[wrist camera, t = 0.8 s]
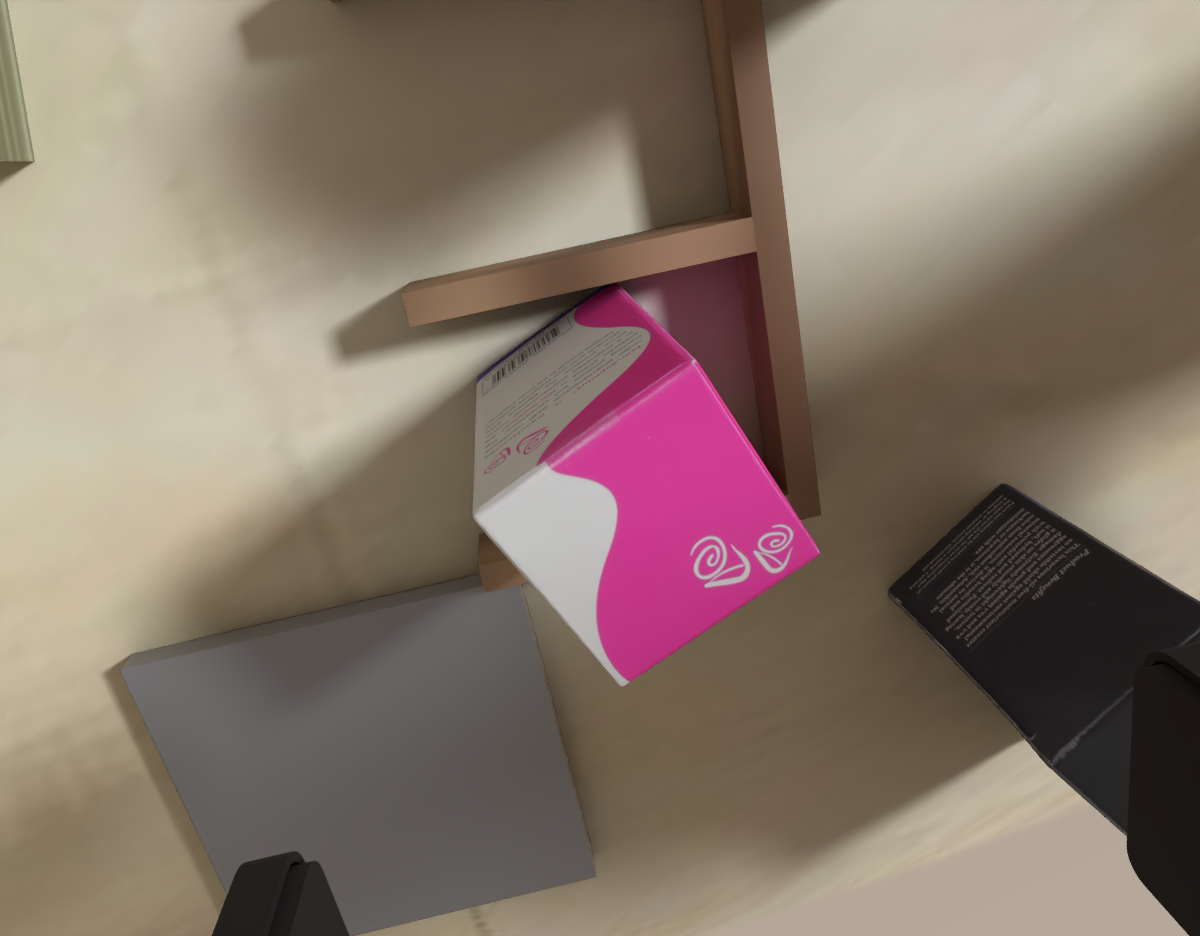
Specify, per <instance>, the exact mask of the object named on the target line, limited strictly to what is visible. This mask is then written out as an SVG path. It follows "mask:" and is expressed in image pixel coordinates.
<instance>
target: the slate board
mask: <svg viewBox="0 0 1200 936" xmlns="http://www.w3.org/2000/svg"><path fill="white" fill-rule="evenodd" d="M120 672H121V674H122V676H123V678H124V680H125V682H126V684H127V686H128V689H129V691H130V693H131V695H132V697H133V699H134V701H135V703H136V705H137V707H138V710H139V712H140V714H141V716H142V718H143V720H144V722H145V724H146V726H147V728H148V731H149V733H150V735H151V737H152V739H153V741H154V743H155V745H156V747H157V749H158V752H159V754H160V756H161V758H162V760H163V762H164V764H165V766H166V768H167V771H168V773H169V775H170V777H171V779H172V781H173V783H174V785H175V787H176V789H177V792H178V794H179V796H180V798H181V800H182V802H183V804H184V806H185V808H186V810H187V813H188V815H189V817H190V819H191V821H192V823H193V825H194V827H195V829H196V831H197V834H198V836H199V838H200V840H201V842H202V844H203V846H204V848H205V850H206V852H207V855H208V857H209V859H210V861H211V863H212V865H213V867H214V869H215V871H216V873H217V876H218V878H219V880H220V882H221V884H222V886H223V888H224V890H225V892H226V894H228V892H229V889H230V886H231V884H232V881H233V878H234V876H235V874H236V872H237V870H238V868H239V866H241V865H242V864H243V863H244V862H248V861H253V860H257V859H261V858H266V857H270V856H274V855H279V854H283V853H287V852H292V851H297V852H299V853H300V854H301V855H302V857H303V859H304V860H305V862H311V861H317V862H318V863H320V865H321V867H322V869H323V871H324V874H325V876H326V879H327V881H328V884H329V886H330V889H331V891H332V893H333V896H334V898H335V901H336V903H337V906H338V908H339V911H340V913H341V916H342V918H343V921H344V923H345V926H346V928H347V931H348V933H349V936H355V935H359V934H363V933H368V932H372V931H376V930H380V929H384V928H388V927H392V926H396V925H400V924H404V923H409V922H413V921H417V920H421V919H425V918H429V917H433V916H437V915H441V914H445V913H450V912H454V911H458V910H462V909H466V908H470V907H474V906H478V905H482V904H486V903H491V902H495V901H499V900H503V899H507V898H511V897H515V896H519V895H523V894H528V893H532V892H536V891H540V890H544V889H548V888H552V887H556V886H560V885H564V884H569V883H573V882H577V881H581V880H585V879H589V878H593V877H596V869H595V862H594V856H593V852H592V849H591V845H590V841H589V837H588V833H587V830H586V826H585V822H584V818H583V814H582V811H581V807H580V803H579V799H578V795H577V792H576V788H575V784H574V780H573V776H572V773H571V769H570V765H569V761H568V758H567V754H566V750H565V746H564V742H563V739H562V735H561V731H560V727H559V723H558V720H557V716H556V712H555V708H554V704H553V701H552V697H551V693H550V689H549V686H548V682H547V678H546V674H545V670H544V667H543V663H542V659H541V655H540V651H539V648H538V644H537V640H536V636H535V632H534V629H533V625H532V621H531V617H530V613H529V610H528V606H527V602H526V598H525V595H524V591H523V587H522V584H520V585H516V586H511V587H507V588H503V589H498V590H494V591H490V592H485V591H484V587H483V584H482V580H481V577H480V574H478V575H473V576H469V577H465V578H460V579H456V580H452V581H447V582H443V583H439V584H434V585H430V586H426V587H421V588H417V589H413V590H408V591H404V592H400V593H395V594H391V595H387V596H382V597H378V598H374V599H369V600H365V601H361V602H356V603H352V604H348V605H343V606H339V607H335V608H330V609H326V610H322V611H317V612H313V613H309V614H304V615H300V616H296V617H291V618H287V619H283V620H278V621H274V622H270V623H265V624H261V625H257V626H252V627H248V628H244V629H239V630H235V631H231V632H226V633H222V634H218V635H213V636H209V637H205V638H200V639H196V640H192V641H187V642H183V643H179V644H174V645H170V646H166V647H161V648H157V649H152V650H148V651H144V652H139V653H135V654H131V656H130V657H129V658H128V660H127V661H126V662H125V664H124V665H123V666H122V668H121V669H120Z"/></svg>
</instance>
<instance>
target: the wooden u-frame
mask: <svg viewBox="0 0 1200 936" xmlns="http://www.w3.org/2000/svg"><path fill="white" fill-rule="evenodd" d="M330 1H331V2H337V1H342V0H330ZM701 2H702V9H703V16H704V24H705V31H706V38H707V45H708V52H709V60H710V67H711V74H712V81H713V88H714V96H715V103H716V110H717V117H718V124H719V132H720V139H721V146H722V153H723V160H724V167H725V175H726V182H727V189H728V196H729V203H730V211H731V213H726V214H722V215H717V216H712V217H708V218H703V219H699V220H694V221H689V222H685V223H680V224H676V225H671V226H667V227H662V228H657V229H653V230H648V231H644V232H639V233H634V234H630V235H625V236H621V237H616V238H612V239H607V240H602V241H598V242H593V243H589V244H584V245H579V246H575V247H570V248H566V249H561V250H557V251H552V252H547V253H543V254H538V255H534V256H529V257H525V258H520V259H515V260H511V261H506V262H502V263H497V264H492V265H488V266H483V267H479V268H474V269H470V270H465V271H460V272H456V273H451V274H447V275H442V276H437V277H433V278H428V279H424V280H419V281H415V282H410V283H409V284H408V285H407V286H406V288H405V289H404V290H403V291H402V293H401V297H402V301H403V304H404V308H405V311H406V315H407V318H408V322H409V325H410V327H415V326H419V325H424V324H428V323H433V322H438V321H442V320H447V319H451V318H456V317H460V316H465V315H469V314H474V313H478V312H483V311H488V310H492V309H497V308H501V307H506V306H510V305H515V304H519V303H524V302H528V301H533V300H538V299H542V298H547V297H551V296H556V295H560V294H565V293H569V292H574V291H578V290H583V289H587V288H592V287H597V286H601V285H606V284H610V283H615V282H619V281H624V280H628V279H633V278H637V277H642V276H647V275H651V274H656V273H660V272H665V271H669V270H674V269H678V268H683V267H687V266H692V265H697V264H701V263H706V262H710V261H715V260H719V259H724V258H728V257H733V256H737V261H738V268H739V275H740V283H741V290H742V297H743V304H744V311H745V319H746V326H747V333H748V340H749V347H750V355H751V362H752V369H753V376H754V383H755V391H756V398H757V405H758V412H759V419H760V427H761V434H762V441H763V448H764V455H765V463H766V468H767V470H768V471H769V473H770V474H771V476H772V478H773V479H774V481H775V482H776V484H777V485H778V487H779V488H780V490H781V491H782V493H783V495H784V496H785V498H786V499H787V501H788V502H789V504H790V505H791V507H792V508H793V510H794V512H795V513H796V515H797V516H798V518H799V519H800V520H801V519H805V518H810V517H814V516H818V515H821V512H820V503H819V494H818V486H817V477H816V469H815V460H814V452H813V443H812V434H811V426H810V417H809V409H808V400H807V392H806V383H805V374H804V366H803V357H802V349H801V340H800V331H799V323H798V314H797V306H796V297H795V289H794V280H793V271H792V263H791V254H790V246H789V237H788V229H787V220H786V211H785V203H784V194H783V186H782V177H781V169H780V160H779V151H778V143H777V134H776V126H775V117H774V109H773V100H772V91H771V83H770V74H769V66H768V57H767V49H766V40H765V31H764V23H763V14H762V6H761V0H701ZM478 570H479V573H480V577H481V580H482V584H483V587H484V591H485V592H490V591H494V590H498V589H503V588H507V587H511V586H516V585H520V584H524V583H529V582H528V581H527V580H526V578H525V577H524V576H523V575H522V574H521V573H520V572H519V571H518V569H517V568H516V567H515V566H514V565H513V564H512V563H511V562H510V560H509V559H508V558H507V557H506V556H505V555H504V554H503V553H502V551H501V550H500V549H499V548H498V547H497V546H496V545H495V544H494V542H493V541H492V540H491V539H490V538H489V537H488V536H487V534H486V533H485V534H481V535H479V550H478Z"/></svg>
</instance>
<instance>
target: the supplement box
mask: <svg viewBox="0 0 1200 936" xmlns="http://www.w3.org/2000/svg"><path fill="white" fill-rule="evenodd" d="M476 382H477V387H476V425H475V458H474V488H473V514H472V515H473V519H474V520H475V522H476V523H477V524H478V525H479V526H480V527H481V528H482V530H483V531H484V532H485V533H486V534H487V536H488V537H489V538H490V539H491V540H492V541H493V542H494V544H495V545H496V546H497V547H498V548H499V549H500V550H501V551H502V553H503V554H504V555H505V556H506V557H507V558H508V559H509V560H510V562H511V563H512V564H513V565H514V566H515V567H516V568H517V569H518V571H519V572H520V573H521V574H522V575H523V576H524V577H525V578H526V580H527V581H528V582H529V583H530V584H531V585H532V586H533V587H534V589H535V590H536V591H537V592H538V593H539V594H540V595H541V596H542V598H543V599H544V600H545V601H546V602H547V603H548V604H549V606H550V607H551V608H552V609H553V610H554V611H555V612H556V613H557V615H558V616H559V617H560V618H561V619H562V620H563V621H564V622H565V624H566V625H567V626H568V627H569V628H570V629H571V630H572V631H573V632H574V633H575V635H576V636H577V637H578V638H579V639H580V640H581V641H582V642H583V643H584V645H585V646H586V647H587V648H588V649H589V651H590V652H591V653H592V654H593V655H594V656H595V658H596V659H597V660H598V661H599V662H600V663H601V665H602V666H603V667H604V668H605V669H606V671H607V672H608V673H609V674H610V675H611V676H612V677H613V679H614V680H615V681H616V682H617V684H618V685H619V686H625V685H626V684H628V683H629V682H630V681H632V680H633V679H635V678H636V677H638V676H640V675H641V674H643V673H644V672H646V671H647V670H649V669H650V668H651V667H653V666H654V665H655V664H657V663H659V662H660V661H662V660H663V659H665V658H666V657H668V656H669V655H671V654H672V653H674V652H675V651H677V650H678V649H680V648H681V647H683V646H684V645H686V644H687V643H689V642H690V641H692V640H693V639H695V638H696V637H698V636H699V635H701V634H702V633H704V632H705V631H706V630H708V629H709V628H711V627H712V626H714V625H715V624H717V623H718V622H720V621H721V620H723V619H724V618H726V617H727V616H729V615H730V614H732V613H733V612H734V611H736V610H737V609H739V608H740V607H742V606H744V605H745V604H747V603H748V602H750V601H751V600H752V599H754V598H755V597H757V596H758V595H760V594H761V593H763V592H764V591H766V590H768V589H769V588H771V587H772V586H774V585H775V584H777V583H778V582H780V581H781V580H783V579H784V578H786V577H787V576H789V575H790V574H791V573H793V572H794V571H796V570H797V569H799V568H800V567H802V566H803V565H805V564H806V563H808V562H809V561H811V560H812V559H814V558H815V557H817V556H818V555H819V554H820V552H819V549H818V547H817V545H816V544H815V542H814V540H813V539H812V537H811V536H810V535H809V533H808V532H807V530H806V529H805V527H804V526H803V524H802V522H801V521H800V519H799V518H798V516H797V515H796V513H795V512H794V510H793V508H792V507H791V505H790V504H789V502H788V501H787V499H786V498H785V496H784V495H783V493H782V491H781V490H780V488H779V487H778V485H777V484H776V482H775V481H774V479H773V478H772V476H771V474H770V473H769V471H768V470H767V468H766V467H765V465H764V463H763V462H762V460H761V459H760V457H759V456H758V454H757V452H756V451H755V449H754V448H753V446H752V445H751V443H750V442H749V440H748V439H747V437H746V436H745V434H744V432H743V431H742V429H741V428H740V426H739V425H738V423H737V422H736V420H735V418H734V417H733V416H732V414H731V412H730V411H729V409H728V408H727V406H726V405H725V403H724V402H723V400H722V399H721V397H720V395H719V394H718V392H717V391H716V389H715V388H714V386H713V385H712V383H711V382H710V380H709V378H708V377H707V375H706V374H705V372H704V371H703V369H702V368H701V366H700V365H699V363H698V362H697V360H696V359H695V358H694V357H693V356H692V355H691V354H690V353H689V352H688V351H687V350H685V349H684V348H683V347H682V346H681V345H680V344H679V343H678V342H677V341H676V340H675V339H673V338H672V337H671V336H670V334H669V333H668V332H667V331H666V330H665V329H664V328H663V327H662V326H661V325H660V324H659V323H657V322H656V321H655V319H654V318H652V317H651V316H650V315H649V314H648V313H647V312H646V311H645V310H644V309H643V308H642V307H641V306H640V305H639V304H638V303H637V302H636V301H635V300H634V299H633V298H632V297H631V296H630V295H629V294H628V293H627V292H626V291H625V290H624V289H623V288H622V287H621V286H620V285H619V284H617V283H610V284H606V285H605V286H603V287H601V288H600V289H598V290H597V291H595V292H594V293H593V294H591V295H590V296H588V297H587V298H585V299H584V300H582V301H581V302H579V303H578V304H577V305H575V306H574V307H573V308H571V309H570V310H568V311H567V312H566V313H564V314H563V315H561V316H560V317H558V318H557V319H556V320H555V321H553V322H552V323H550V324H549V325H548V326H546V327H545V328H543V329H542V330H541V331H539V332H538V333H537V334H535V335H534V336H532V337H531V338H530V339H528V340H527V341H526V342H524V343H523V344H522V345H520V346H519V347H517V348H516V349H515V350H513V351H512V352H511V353H509V354H508V355H507V356H505V357H504V358H503V359H501V360H500V361H499V362H497V363H496V364H495V365H494V366H492V367H491V368H490V369H488V370H487V371H486V372H484V373H483V374H482V375H480V376H479V377H477V379H476Z"/></svg>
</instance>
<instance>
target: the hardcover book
mask: <svg viewBox="0 0 1200 936" xmlns="http://www.w3.org/2000/svg"><path fill="white" fill-rule="evenodd" d="M0 161H35V160H34V154H33V149H32V143H31V137H30V132H29V126H28V120H27V114H26V109H25V103H24V97H23V91H22V86H21V80H20V74H19V68H18V63H17V57H16V51H15V45H14V40H13V34H12V28H11V22H10V17H9V11H8V5H7V0H0Z"/></svg>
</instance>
